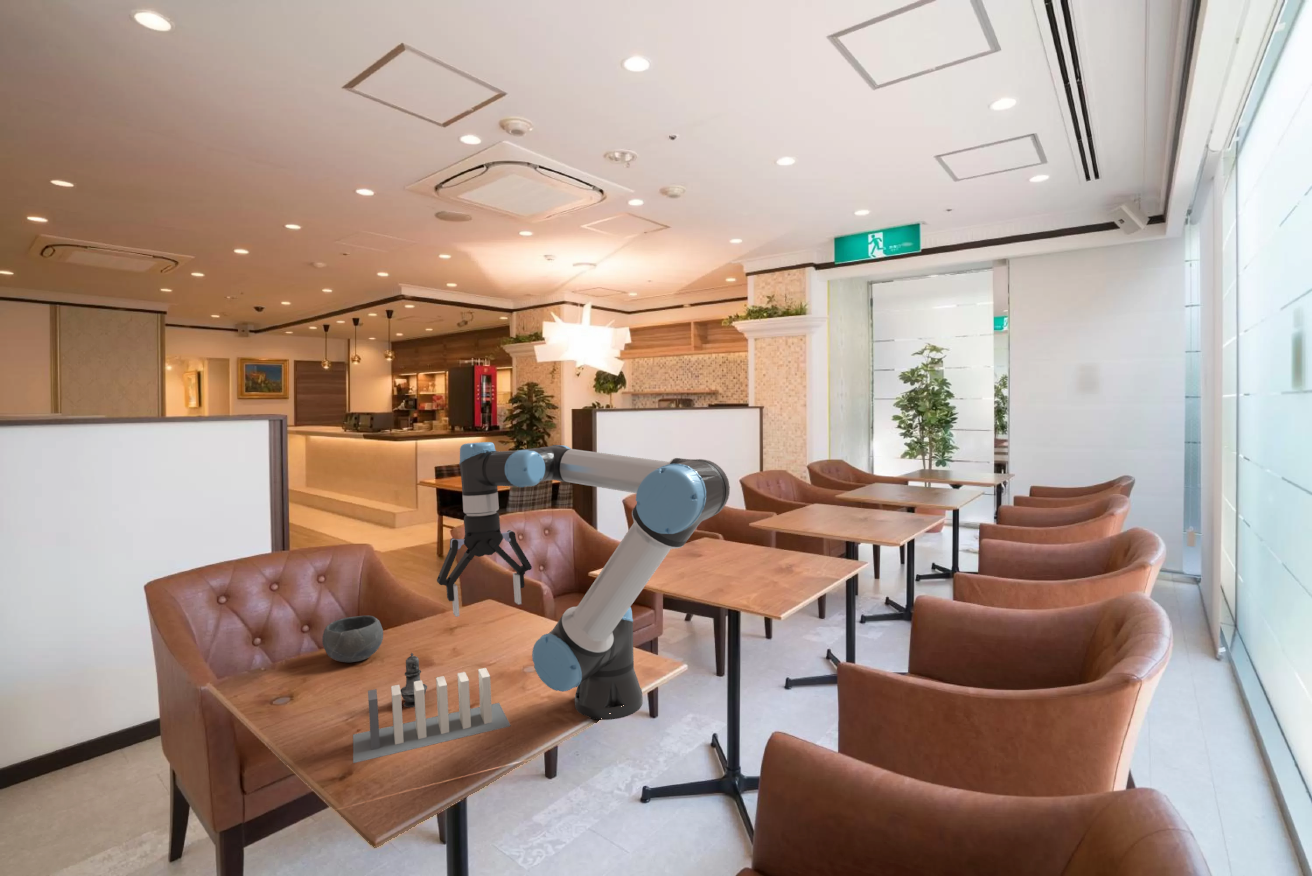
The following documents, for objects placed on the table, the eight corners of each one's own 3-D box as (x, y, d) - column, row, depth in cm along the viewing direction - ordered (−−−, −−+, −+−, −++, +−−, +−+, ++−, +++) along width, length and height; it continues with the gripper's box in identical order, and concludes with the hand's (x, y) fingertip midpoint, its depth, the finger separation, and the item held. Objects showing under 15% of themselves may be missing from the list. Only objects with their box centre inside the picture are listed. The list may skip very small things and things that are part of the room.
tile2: (467, 717, 141) (465, 671, 140) (471, 727, 137) (468, 680, 136) (459, 718, 140) (457, 673, 140) (463, 729, 136) (460, 682, 135)
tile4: (424, 726, 137) (421, 680, 137) (426, 737, 133) (424, 689, 132) (416, 728, 137) (413, 681, 136) (418, 739, 132) (415, 691, 132)
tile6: (379, 736, 134) (376, 689, 133) (379, 748, 129) (377, 698, 129) (370, 738, 133) (367, 690, 132) (371, 750, 128) (368, 700, 128)
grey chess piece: (401, 712, 145) (398, 659, 144) (400, 701, 150) (397, 650, 150) (429, 706, 147) (426, 654, 147) (426, 696, 153) (424, 646, 152)
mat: (499, 704, 147) (499, 702, 147) (510, 727, 137) (510, 726, 137) (353, 736, 135) (353, 734, 135) (353, 765, 124) (353, 763, 124)
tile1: (487, 712, 143) (485, 667, 142) (492, 722, 138) (490, 676, 138) (480, 714, 142) (478, 669, 142) (484, 724, 138) (482, 677, 137)
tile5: (401, 731, 136) (399, 684, 135) (403, 742, 131) (401, 694, 130) (393, 733, 135) (391, 686, 134) (395, 744, 130) (392, 695, 130)
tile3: (446, 721, 139) (443, 676, 139) (449, 732, 135) (447, 685, 134) (438, 723, 139) (436, 677, 138) (441, 734, 134) (438, 686, 133)
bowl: (389, 660, 175) (388, 624, 174) (328, 675, 166) (326, 636, 166) (378, 644, 187) (376, 610, 186) (320, 657, 179) (318, 621, 178)
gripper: (531, 504, 152) (536, 594, 153) (418, 518, 140) (425, 615, 141) (541, 507, 145) (547, 601, 146) (424, 522, 133) (432, 625, 134)
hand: (487, 609), depth 143 cm, fingers open, 13 cm apart
